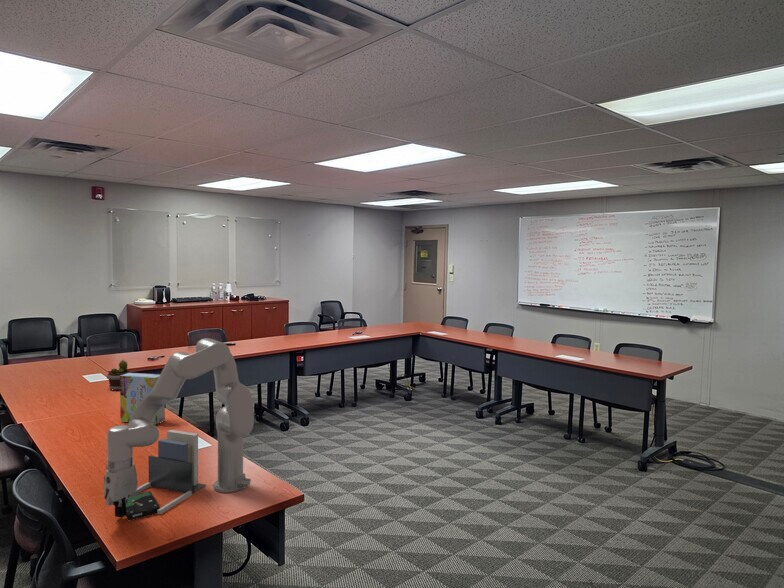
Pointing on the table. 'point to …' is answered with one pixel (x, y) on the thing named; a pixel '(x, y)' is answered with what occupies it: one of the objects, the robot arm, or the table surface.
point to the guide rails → (166, 504)
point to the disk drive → (141, 505)
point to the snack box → (137, 394)
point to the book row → (181, 449)
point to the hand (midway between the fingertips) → (120, 515)
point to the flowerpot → (117, 375)
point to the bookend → (171, 475)
